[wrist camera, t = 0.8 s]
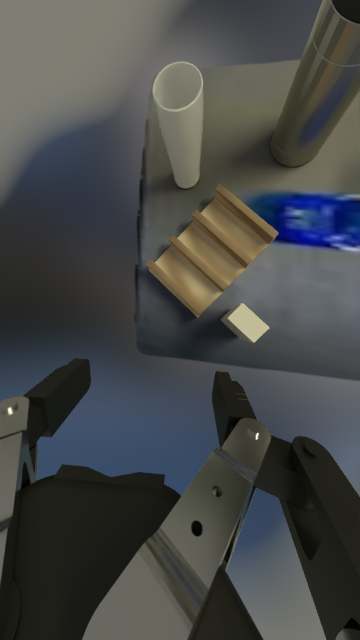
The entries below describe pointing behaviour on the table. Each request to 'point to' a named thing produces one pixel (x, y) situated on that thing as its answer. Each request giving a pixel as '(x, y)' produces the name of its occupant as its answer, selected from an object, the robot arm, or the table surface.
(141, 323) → the table surface
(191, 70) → the drinking glass
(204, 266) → the ridged wooden tray
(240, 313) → the cream rectangular block
